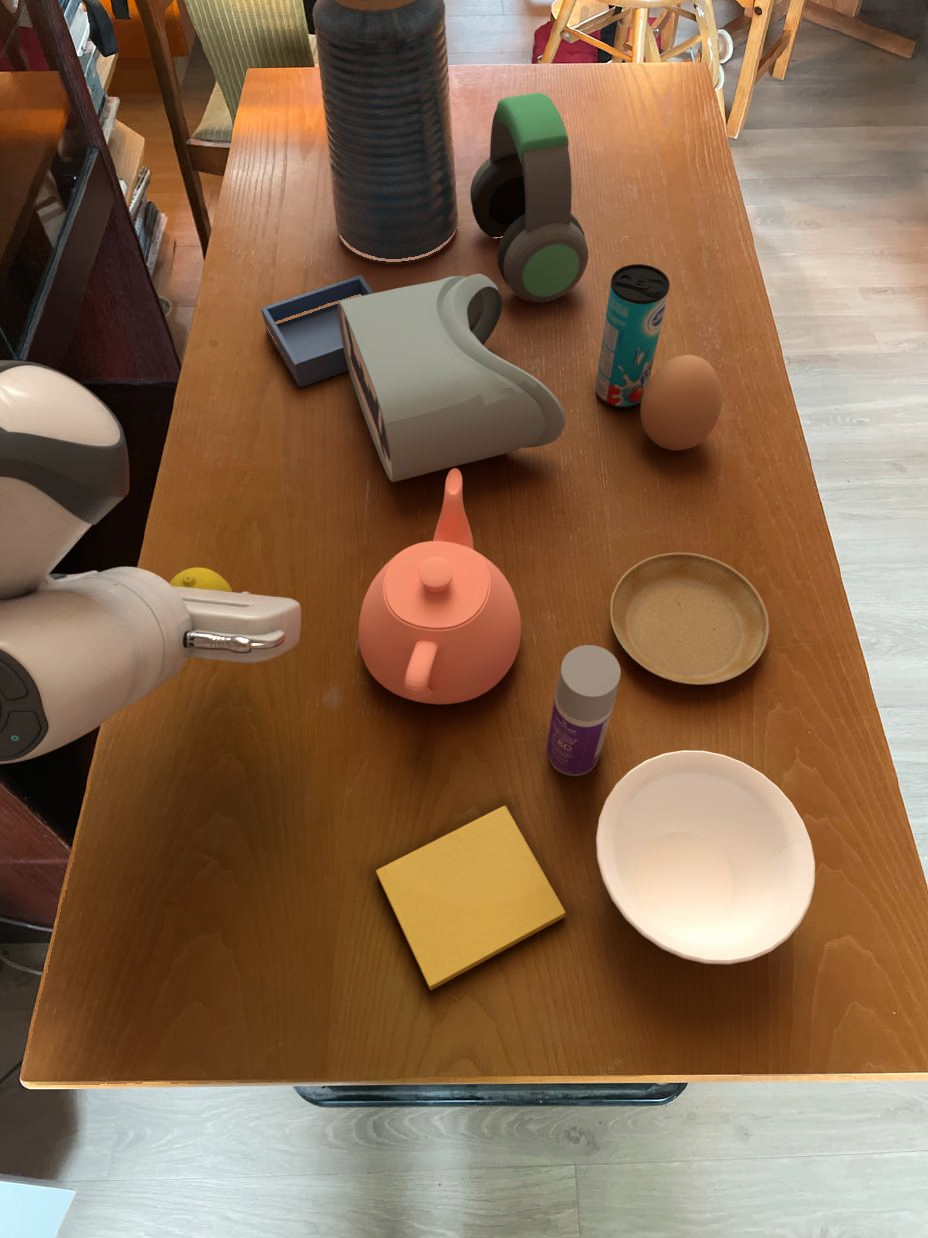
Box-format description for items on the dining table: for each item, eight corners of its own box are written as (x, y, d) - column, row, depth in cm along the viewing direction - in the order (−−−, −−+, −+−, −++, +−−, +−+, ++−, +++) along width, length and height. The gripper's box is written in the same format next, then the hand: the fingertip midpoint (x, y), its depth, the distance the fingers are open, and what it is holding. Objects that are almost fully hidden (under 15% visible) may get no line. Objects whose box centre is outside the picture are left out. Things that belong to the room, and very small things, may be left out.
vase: (331, 202, 122) (290, -68, 96) (446, 188, 124) (438, -82, 97) (344, 275, 114) (303, 1, 87) (468, 259, 115) (465, -15, 88)
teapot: (388, 538, 91) (377, 456, 81) (533, 555, 90) (540, 474, 79) (340, 729, 79) (319, 663, 69) (505, 753, 78) (509, 688, 68)
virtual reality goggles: (346, 371, 104) (331, 278, 93) (497, 335, 107) (499, 241, 96) (397, 507, 93) (386, 420, 82) (563, 463, 96) (574, 373, 85)
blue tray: (299, 387, 103) (294, 364, 100) (266, 331, 108) (260, 307, 105) (401, 351, 106) (399, 327, 103) (364, 298, 111) (361, 274, 108)
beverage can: (628, 418, 100) (650, 308, 87) (584, 396, 101) (599, 286, 89) (655, 389, 102) (680, 278, 89) (612, 368, 104) (630, 256, 91)
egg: (718, 426, 99) (743, 347, 89) (696, 477, 95) (720, 400, 85) (647, 405, 101) (665, 325, 91) (623, 454, 97) (639, 376, 87)
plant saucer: (581, 593, 87) (584, 578, 85) (712, 549, 90) (718, 533, 87) (650, 719, 80) (655, 706, 77) (791, 667, 82) (800, 653, 80)
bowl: (572, 796, 76) (582, 756, 69) (754, 782, 76) (783, 742, 69) (600, 993, 67) (615, 972, 60) (805, 977, 68) (844, 954, 60)
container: (540, 768, 77) (552, 689, 65) (553, 721, 80) (567, 636, 67) (592, 782, 76) (615, 705, 64) (604, 735, 79) (628, 652, 66)
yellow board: (430, 991, 68) (429, 987, 66) (377, 875, 72) (375, 870, 71) (564, 917, 70) (566, 912, 69) (504, 811, 75) (505, 804, 74)
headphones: (465, 228, 119) (463, 71, 102) (542, 214, 120) (553, 57, 103) (505, 317, 109) (511, 160, 92) (589, 301, 110) (609, 143, 94)
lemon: (174, 620, 77) (144, 566, 70) (233, 595, 78) (210, 540, 72) (193, 668, 74) (164, 617, 68) (255, 642, 76) (233, 589, 69)
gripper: (271, 604, 58) (326, 571, 71) (-21, 573, 60) (86, 547, 73) (268, 695, 59) (322, 646, 73) (-17, 662, 61) (87, 620, 75)
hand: (202, 596), depth 73 cm, fingers closed on lemon, 5 cm apart
